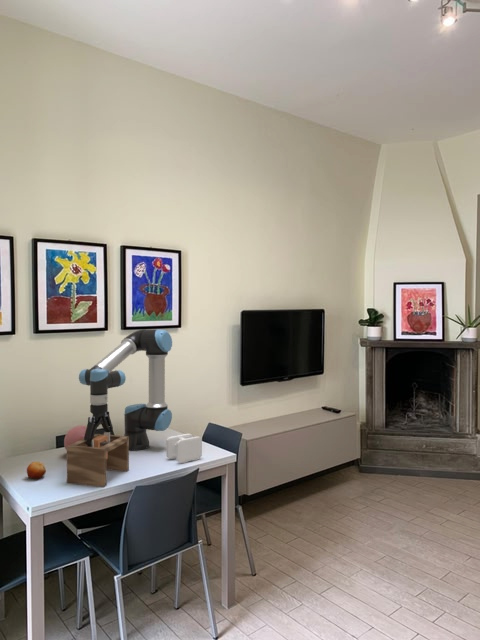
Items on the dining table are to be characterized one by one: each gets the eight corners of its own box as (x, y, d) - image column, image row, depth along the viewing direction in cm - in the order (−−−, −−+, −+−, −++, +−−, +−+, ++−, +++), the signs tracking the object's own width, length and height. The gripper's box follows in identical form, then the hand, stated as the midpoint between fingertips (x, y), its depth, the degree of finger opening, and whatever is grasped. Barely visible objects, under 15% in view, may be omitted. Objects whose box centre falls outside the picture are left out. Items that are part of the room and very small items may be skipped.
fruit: (26, 471, 216) (35, 456, 216) (41, 480, 216) (50, 465, 217) (19, 478, 208) (29, 462, 208) (35, 487, 208) (44, 471, 209)
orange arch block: (90, 463, 211) (90, 439, 211) (99, 458, 219) (99, 435, 218) (98, 464, 210) (98, 440, 210) (107, 458, 218) (107, 435, 217)
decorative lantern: (72, 464, 230) (72, 433, 230) (60, 455, 246) (59, 425, 246) (103, 459, 239) (103, 428, 239) (89, 449, 255) (89, 421, 255)
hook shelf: (94, 466, 227) (94, 433, 227) (128, 470, 223) (128, 436, 222) (66, 482, 206) (66, 446, 206) (104, 487, 201) (103, 449, 201)
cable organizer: (176, 465, 230) (176, 441, 230) (165, 459, 239) (165, 436, 238) (202, 459, 240) (202, 436, 240) (190, 454, 248) (190, 432, 248)
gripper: (90, 409, 201) (91, 459, 201) (120, 399, 225) (120, 443, 225) (75, 408, 203) (75, 458, 203) (106, 398, 227) (106, 442, 227)
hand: (99, 450), depth 214 cm, fingers open, 13 cm apart
